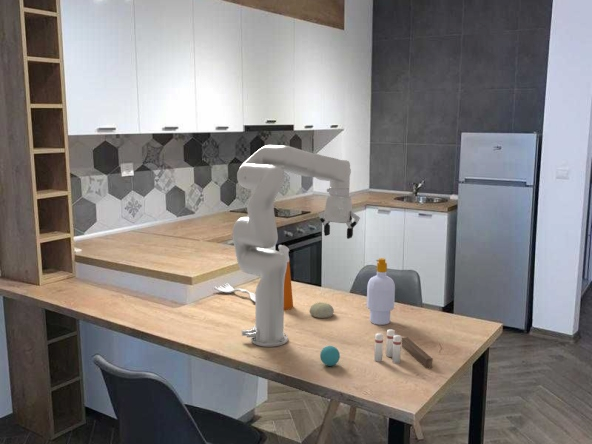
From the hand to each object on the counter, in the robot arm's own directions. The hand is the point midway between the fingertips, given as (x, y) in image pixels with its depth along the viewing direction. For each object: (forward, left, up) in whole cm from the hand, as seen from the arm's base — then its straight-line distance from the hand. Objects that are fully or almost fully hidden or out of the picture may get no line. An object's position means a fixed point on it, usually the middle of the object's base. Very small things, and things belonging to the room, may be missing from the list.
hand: (338, 236), depth 229 cm
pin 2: (+3, -51, -30) cm, 60 cm away
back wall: (+11, -49, -30) cm, 58 cm away
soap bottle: (+12, -16, -30) cm, 36 cm away
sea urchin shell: (-7, -4, -30) cm, 31 cm away
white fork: (-32, +25, -30) cm, 51 cm away
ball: (-18, -49, -27) cm, 59 cm away
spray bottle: (-20, +7, -30) cm, 37 cm away
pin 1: (+3, -46, -30) cm, 55 cm away
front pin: (-2, -49, -30) cm, 57 cm away
